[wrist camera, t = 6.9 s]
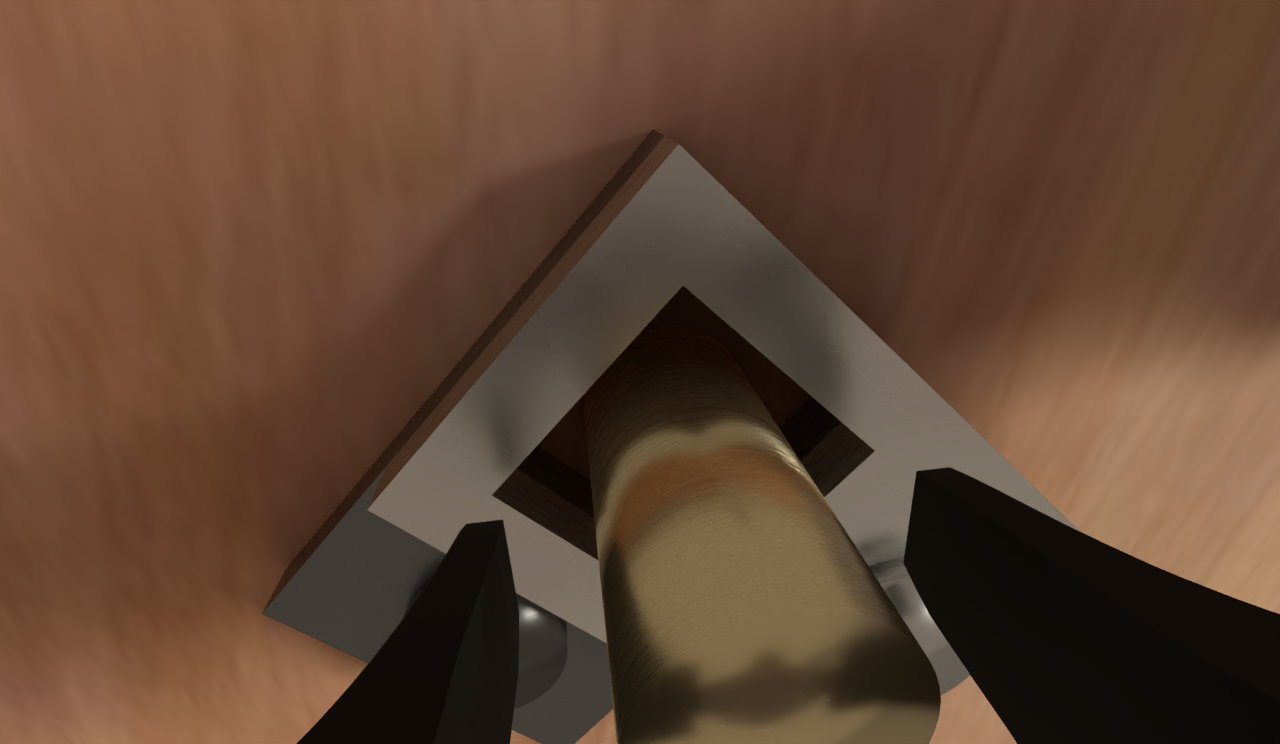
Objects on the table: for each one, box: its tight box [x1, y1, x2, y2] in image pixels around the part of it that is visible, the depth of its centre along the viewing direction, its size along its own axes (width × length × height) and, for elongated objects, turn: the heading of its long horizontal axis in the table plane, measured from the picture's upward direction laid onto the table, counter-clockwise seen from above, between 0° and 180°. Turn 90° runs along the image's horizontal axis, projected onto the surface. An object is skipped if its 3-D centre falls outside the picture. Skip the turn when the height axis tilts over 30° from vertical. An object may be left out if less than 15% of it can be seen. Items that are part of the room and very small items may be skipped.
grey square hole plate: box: [367, 136, 1079, 696], centre depth 15 cm, size 14×9×4 cm, turn 48°
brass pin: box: [583, 327, 941, 744], centre depth 12 cm, size 4×4×9 cm
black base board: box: [262, 130, 841, 744], centre depth 16 cm, size 14×9×2 cm, turn 138°
